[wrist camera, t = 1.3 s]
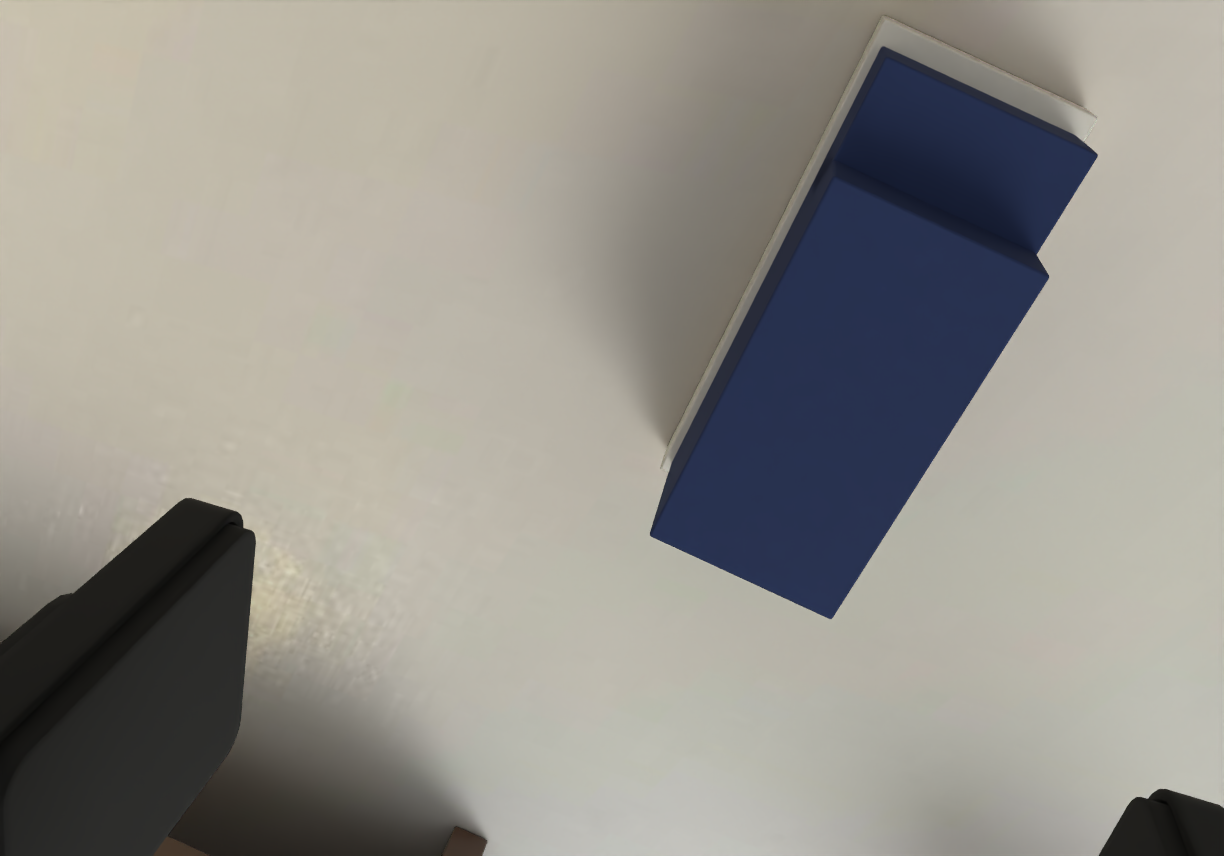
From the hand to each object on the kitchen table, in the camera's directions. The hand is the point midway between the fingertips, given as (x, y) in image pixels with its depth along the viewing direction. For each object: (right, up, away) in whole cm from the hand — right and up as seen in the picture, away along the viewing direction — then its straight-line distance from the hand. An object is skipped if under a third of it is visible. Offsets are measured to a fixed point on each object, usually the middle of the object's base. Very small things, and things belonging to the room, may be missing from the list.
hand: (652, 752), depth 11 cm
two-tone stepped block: (+6, +7, +15) cm, 18 cm away
